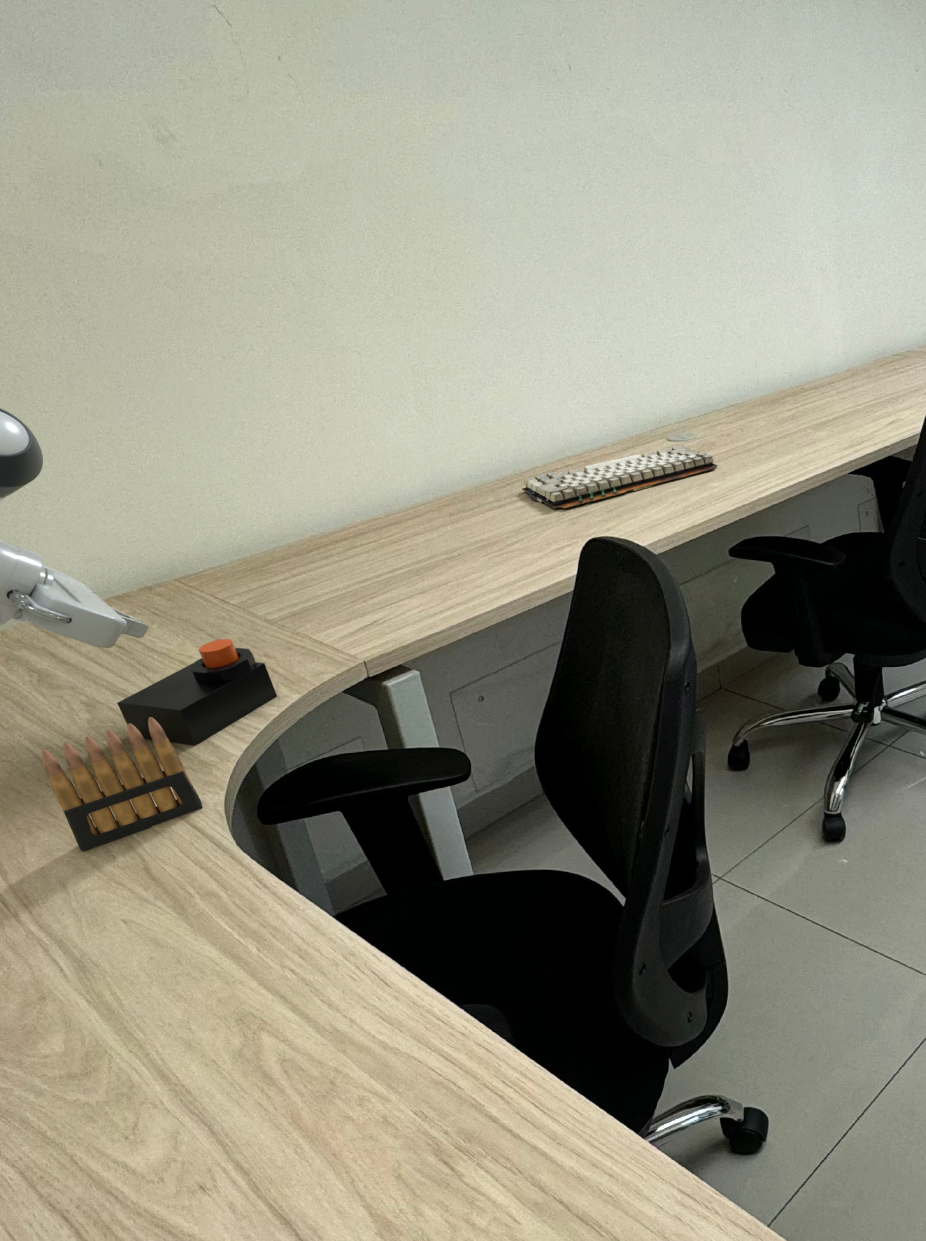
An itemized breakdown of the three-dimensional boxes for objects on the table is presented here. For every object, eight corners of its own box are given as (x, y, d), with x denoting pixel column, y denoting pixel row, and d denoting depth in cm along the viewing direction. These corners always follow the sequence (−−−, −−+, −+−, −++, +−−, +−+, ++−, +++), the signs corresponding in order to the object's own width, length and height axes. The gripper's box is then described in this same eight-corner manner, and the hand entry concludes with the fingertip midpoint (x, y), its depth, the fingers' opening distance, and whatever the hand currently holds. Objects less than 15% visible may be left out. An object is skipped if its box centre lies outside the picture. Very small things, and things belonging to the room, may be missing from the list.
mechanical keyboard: (679, 452, 230) (677, 438, 229) (721, 469, 218) (719, 454, 216) (518, 493, 208) (514, 478, 206) (555, 515, 195) (551, 499, 193)
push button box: (133, 738, 124) (110, 690, 121) (220, 689, 135) (201, 644, 132) (197, 746, 122) (176, 697, 119) (280, 695, 133) (263, 650, 130)
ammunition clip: (81, 851, 104) (30, 757, 99) (80, 843, 105) (31, 749, 100) (202, 808, 110) (161, 717, 105) (201, 801, 111) (160, 710, 106)
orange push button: (198, 668, 126) (191, 650, 125) (223, 654, 130) (216, 637, 129) (221, 670, 126) (213, 653, 125) (245, 657, 129) (238, 640, 128)
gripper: (39, 579, 102) (184, 628, 113) (-3, 540, 114) (133, 587, 125) (2, 634, 101) (153, 677, 112) (-36, 588, 113) (104, 631, 124)
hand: (142, 629), depth 119 cm, fingers closed
